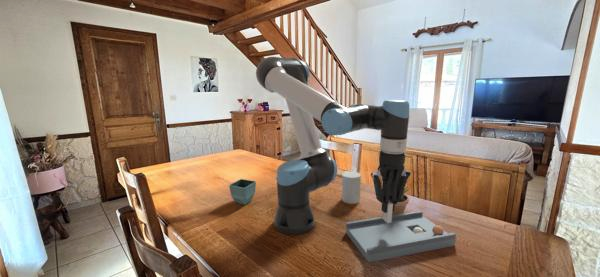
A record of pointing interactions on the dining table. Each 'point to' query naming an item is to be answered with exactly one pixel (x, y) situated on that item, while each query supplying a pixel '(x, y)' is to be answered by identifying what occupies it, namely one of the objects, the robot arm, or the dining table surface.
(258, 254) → the dining table surface
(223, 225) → the dining table surface
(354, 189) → the cup
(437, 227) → the rust ball
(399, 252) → the tray
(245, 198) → the flower pot
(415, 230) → the ball
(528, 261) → the dining table surface
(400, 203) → the potted plant
